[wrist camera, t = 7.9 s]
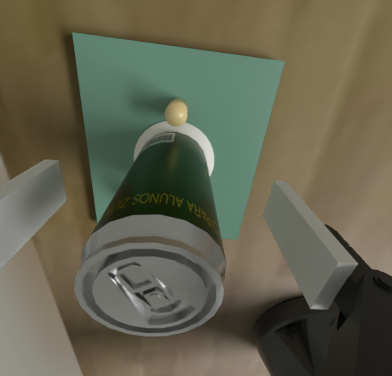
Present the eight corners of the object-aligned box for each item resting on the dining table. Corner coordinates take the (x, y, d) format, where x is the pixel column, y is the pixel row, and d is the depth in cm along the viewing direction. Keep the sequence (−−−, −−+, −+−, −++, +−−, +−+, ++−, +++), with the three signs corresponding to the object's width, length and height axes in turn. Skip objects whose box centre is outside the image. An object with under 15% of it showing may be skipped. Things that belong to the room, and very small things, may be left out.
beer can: (127, 148, 17) (27, 276, 7) (186, 116, 16) (181, 206, 5) (162, 199, 19) (131, 352, 9) (216, 173, 18) (253, 314, 8)
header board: (235, 231, 23) (243, 262, 20) (102, 222, 22) (85, 252, 18) (278, 62, 16) (305, 59, 12) (80, 35, 15) (43, 22, 11)
